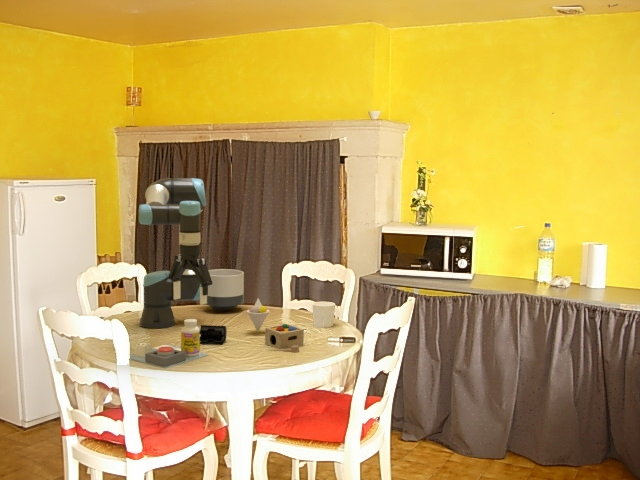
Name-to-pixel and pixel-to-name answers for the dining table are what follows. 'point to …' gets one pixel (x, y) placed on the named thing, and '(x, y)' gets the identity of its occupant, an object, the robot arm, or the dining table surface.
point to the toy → (258, 314)
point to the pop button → (165, 351)
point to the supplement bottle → (190, 338)
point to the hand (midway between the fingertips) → (190, 301)
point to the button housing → (165, 358)
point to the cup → (323, 314)
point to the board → (188, 358)
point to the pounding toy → (284, 337)
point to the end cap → (212, 335)
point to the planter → (225, 289)
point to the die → (142, 349)
